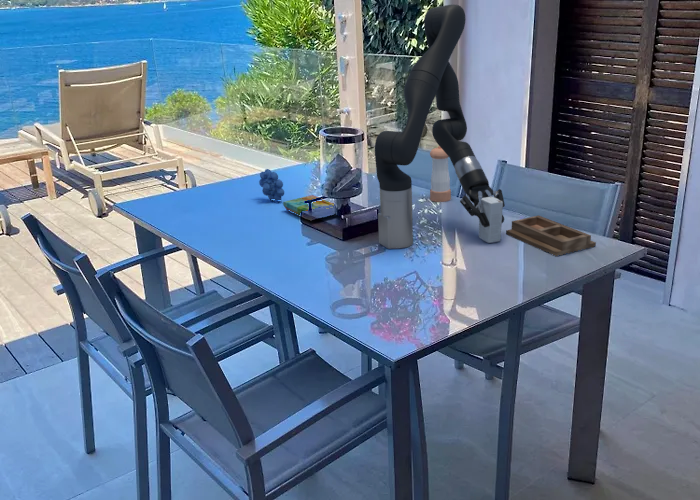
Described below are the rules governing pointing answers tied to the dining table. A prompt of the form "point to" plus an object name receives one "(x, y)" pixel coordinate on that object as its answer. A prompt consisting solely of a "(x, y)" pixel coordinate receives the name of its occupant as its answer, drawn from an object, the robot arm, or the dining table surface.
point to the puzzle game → (304, 204)
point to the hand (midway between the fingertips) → (494, 224)
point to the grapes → (271, 185)
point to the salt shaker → (440, 176)
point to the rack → (549, 235)
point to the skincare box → (491, 220)
